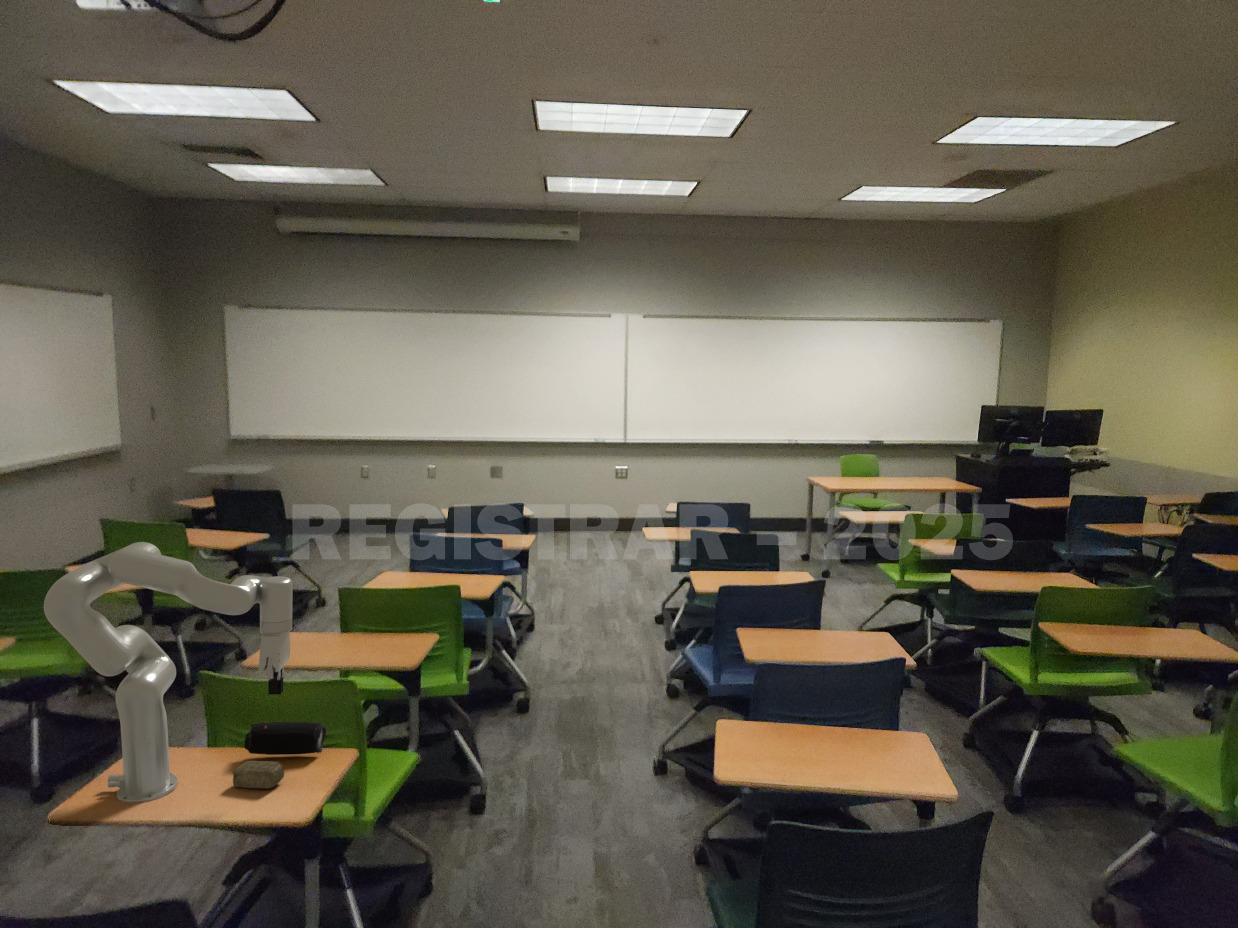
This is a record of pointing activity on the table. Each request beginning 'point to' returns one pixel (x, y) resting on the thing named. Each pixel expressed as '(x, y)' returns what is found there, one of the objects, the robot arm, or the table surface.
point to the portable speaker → (285, 738)
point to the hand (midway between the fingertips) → (275, 692)
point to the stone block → (258, 774)
